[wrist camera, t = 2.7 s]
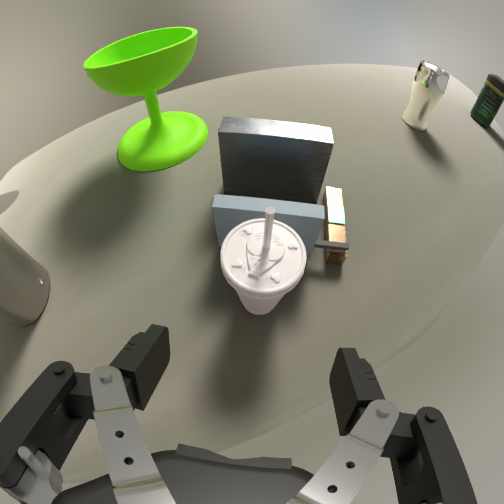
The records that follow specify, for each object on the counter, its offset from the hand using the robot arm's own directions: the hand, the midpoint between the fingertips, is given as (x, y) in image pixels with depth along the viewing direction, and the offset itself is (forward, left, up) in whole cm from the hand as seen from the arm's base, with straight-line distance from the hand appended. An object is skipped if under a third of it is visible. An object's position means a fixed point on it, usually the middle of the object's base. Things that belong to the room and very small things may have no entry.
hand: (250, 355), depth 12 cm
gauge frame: (+1, +19, -14) cm, 24 cm away
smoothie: (0, +8, -15) cm, 17 cm away
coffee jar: (+65, +70, -15) cm, 97 cm away
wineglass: (-19, +33, -15) cm, 41 cm away
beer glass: (+30, +50, -15) cm, 60 cm away
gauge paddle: (+2, +14, -13) cm, 19 cm away
